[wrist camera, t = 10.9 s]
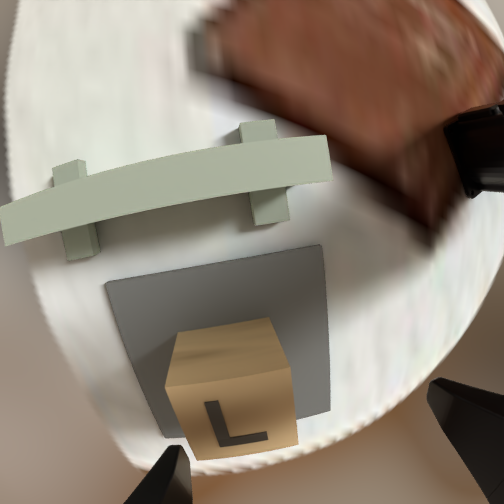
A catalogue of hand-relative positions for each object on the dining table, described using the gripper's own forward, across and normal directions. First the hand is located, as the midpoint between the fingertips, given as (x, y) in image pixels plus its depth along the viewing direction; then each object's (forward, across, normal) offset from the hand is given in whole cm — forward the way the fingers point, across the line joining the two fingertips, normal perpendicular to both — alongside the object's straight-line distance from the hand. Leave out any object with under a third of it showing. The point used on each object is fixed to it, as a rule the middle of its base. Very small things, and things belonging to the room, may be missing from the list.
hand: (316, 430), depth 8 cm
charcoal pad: (+11, +3, +4) cm, 12 cm away
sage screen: (+11, +5, -8) cm, 15 cm away
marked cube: (+11, +3, +4) cm, 12 cm away
